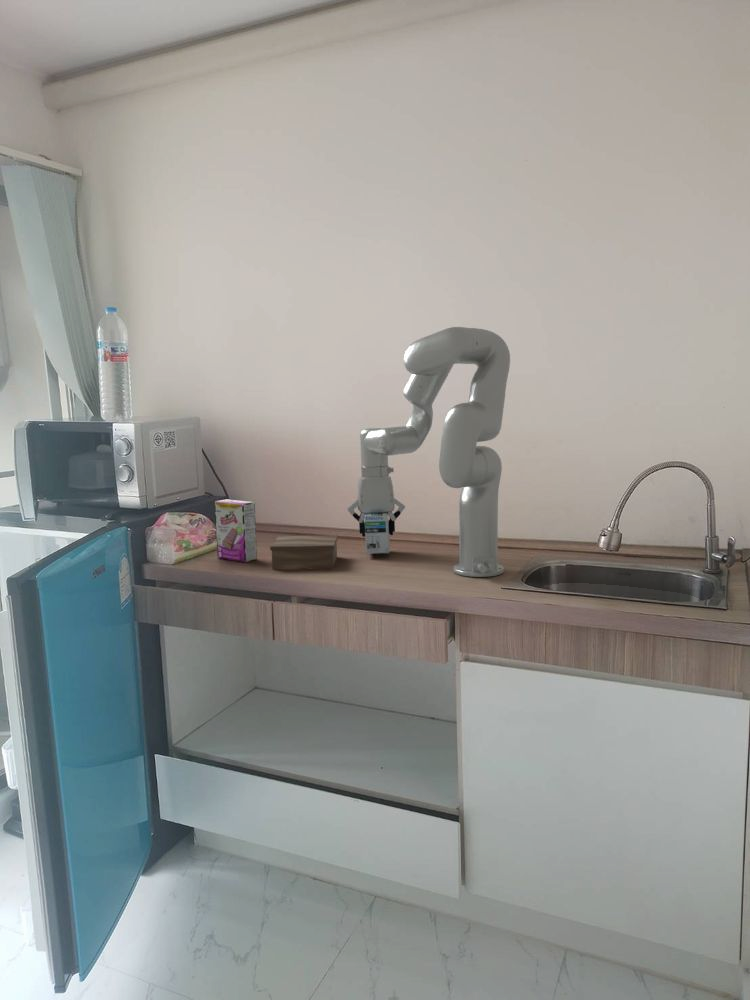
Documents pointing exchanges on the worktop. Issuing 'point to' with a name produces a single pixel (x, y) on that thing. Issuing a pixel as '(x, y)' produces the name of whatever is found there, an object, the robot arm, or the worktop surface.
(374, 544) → the light bulb box
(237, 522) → the candy bar box
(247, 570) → the worktop surface
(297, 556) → the walnut box
